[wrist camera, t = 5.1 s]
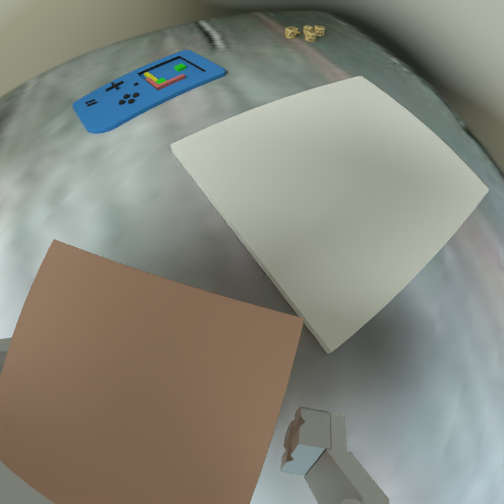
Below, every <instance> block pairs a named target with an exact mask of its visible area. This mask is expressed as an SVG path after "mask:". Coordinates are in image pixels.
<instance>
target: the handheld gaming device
mask: <svg viewBox="0 0 504 504" xmlns="http://www.w3.org/2000/svg"><path fill="white" fill-rule="evenodd" d="M225 74H226V73H225V69H224V68H222V67H220V66H218V65H216V64H215V63H213V62H211V61H209V60H207V59H206V58H204V57H202V56H200V55H198V54H196V53H194V52H192V51H190V50H183V51H180V52H177V53H175V54H172V55H169V56H167V57H164V58H162V59H160V60H157V61H155V62H152V63H150V64H148V65H145V66H143V67H141V68H139V69H136V70H134V71H132V72H130V73H128V74H126V75H124V76H122V77H120V78H118V79H116V80H114V81H112V82H110V83H108V84H106V85H104V86H102V87H100V88H98V89H97V90H95V91H93V92H91V93H89V94H88V95H86V96H84V97H82V98H81V99H79V100H77V101H76V102H74V103H73V108H74V110H75V112H76V113H77V115H78V117H79V118H80V120H81V122H82V123H83V125H84V126H85V128H86V130H87V131H88V132H90V133H95V134H97V133H104V132H108V131H110V130H113V129H115V128H117V127H119V126H120V125H122V124H124V123H126V122H127V121H129V120H131V119H133V118H135V117H136V116H138V115H140V114H142V113H144V112H146V111H148V110H150V109H152V108H154V107H156V106H158V105H160V104H162V103H164V102H166V101H168V100H170V99H172V98H174V97H176V96H178V95H181V94H183V93H185V92H187V91H190V90H192V89H194V88H196V87H199V86H201V85H203V84H206V83H208V82H211V81H213V80H216V79H218V78H221V77H223V76H225Z"/></svg>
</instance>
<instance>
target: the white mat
mask: <svg viewBox="0 0 504 504" xmlns="http://www.w3.org/2000/svg"><path fill="white" fill-rule="evenodd" d="M171 148H172V152H173V153H174V155H175V156H176V157H177V159H178V160H179V161H180V162H181V164H182V165H183V166H184V168H185V169H186V170H187V172H188V173H189V174H190V176H191V177H192V178H193V179H194V181H195V182H196V183H197V185H198V186H199V187H200V189H201V190H202V191H203V192H204V194H205V195H206V196H207V198H208V199H209V200H210V202H211V203H212V204H213V206H214V207H215V208H216V209H217V211H218V212H219V213H220V215H221V216H222V217H223V219H224V220H225V221H226V222H227V224H228V225H229V226H230V228H231V229H232V230H233V232H234V233H235V234H236V236H237V237H238V238H239V239H240V241H241V242H242V243H243V245H244V246H245V247H246V249H247V250H248V251H249V252H250V254H251V255H252V256H253V258H254V259H255V260H256V262H257V263H258V264H259V265H260V267H261V268H262V269H263V271H264V272H265V273H266V275H267V276H268V277H269V278H270V280H271V281H272V282H273V284H274V285H275V286H276V288H277V289H278V290H279V291H280V293H281V294H282V295H283V297H284V298H285V299H286V301H287V302H288V303H289V304H290V306H291V307H292V308H293V310H294V311H295V312H296V314H297V315H298V316H299V317H302V318H305V319H304V324H305V325H306V326H307V328H308V329H309V330H310V332H311V333H312V334H313V336H314V337H315V338H316V339H317V341H318V342H319V343H320V345H321V346H322V347H323V349H324V350H325V351H326V352H327V354H330V353H332V352H333V351H334V350H336V349H337V348H338V347H339V346H340V345H342V344H343V343H344V342H345V341H346V340H348V339H349V338H350V337H351V336H352V335H353V334H355V333H356V332H357V331H358V330H359V329H360V328H361V327H363V326H364V325H365V324H366V323H367V322H368V321H369V320H370V319H372V318H373V317H374V316H375V315H376V314H377V313H378V312H379V311H380V310H381V309H382V308H384V307H385V306H386V305H387V304H388V303H389V302H390V301H391V300H392V299H393V298H394V297H395V296H396V295H397V294H398V293H399V292H400V291H401V290H402V289H403V288H404V287H405V286H406V285H407V284H408V283H409V282H410V281H411V280H412V279H413V278H414V277H415V276H416V275H417V274H418V273H419V272H420V271H421V270H422V269H423V268H424V267H425V266H426V265H427V264H428V263H429V261H430V260H431V259H432V258H433V257H434V256H435V255H436V254H437V253H438V252H439V251H440V249H441V248H442V247H443V246H444V245H445V244H446V243H447V242H448V240H449V239H450V238H451V237H452V236H453V235H454V233H455V232H456V231H457V230H458V229H459V228H460V226H461V225H462V224H463V223H464V222H465V220H466V219H467V218H468V217H469V215H470V214H471V213H472V212H473V210H474V209H475V208H476V207H477V205H478V204H479V203H480V201H481V200H482V199H483V198H484V196H485V195H486V194H487V192H488V191H489V189H488V188H487V187H486V186H485V184H484V183H483V182H482V181H481V180H480V179H479V178H478V177H477V176H476V174H475V173H474V172H473V171H472V170H471V169H470V168H469V167H468V166H467V165H466V164H465V163H464V162H463V161H462V160H461V159H460V158H459V157H458V156H457V155H456V154H455V153H454V152H453V151H452V150H451V149H450V148H449V147H448V146H447V145H446V144H445V143H444V142H443V141H442V140H441V139H440V138H439V137H438V136H437V135H436V134H434V133H433V132H432V131H431V130H430V129H429V128H428V127H427V126H426V125H424V124H423V123H422V122H421V121H420V120H419V119H417V118H416V117H415V116H414V115H413V114H411V113H410V112H409V111H408V110H407V109H405V108H404V107H403V106H402V105H400V104H399V103H398V102H396V101H395V100H394V99H393V98H391V97H390V96H389V95H387V94H386V93H385V92H383V91H382V90H380V89H379V88H378V87H376V86H375V85H374V84H372V83H371V82H369V81H368V80H366V79H365V78H363V77H362V76H358V77H354V78H350V79H346V80H342V81H338V82H334V83H331V84H327V85H324V86H320V87H317V88H313V89H310V90H307V91H304V92H301V93H297V94H294V95H291V96H288V97H285V98H282V99H279V100H276V101H274V102H271V103H268V104H265V105H262V106H260V107H257V108H254V109H252V110H249V111H246V112H244V113H241V114H239V115H236V116H234V117H231V118H229V119H226V120H224V121H221V122H219V123H217V124H214V125H212V126H210V127H207V128H205V129H203V130H201V131H198V132H196V133H194V134H192V135H190V136H187V137H185V138H183V139H181V140H179V141H177V142H175V143H173V144H171Z"/></svg>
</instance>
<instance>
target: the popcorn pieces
mask: <svg viewBox="0 0 504 504" xmlns="http://www.w3.org/2000/svg"><path fill="white" fill-rule="evenodd" d="M312 30H313V27H311V26H307V25H306V26H304V30H303V32H304V35H305V40H306V41H309V42H315V41H316V35H317V36H324V32H325V27H323V26H319V25H316V26H315V28H314V31H312ZM299 34H300V32H299V31H298V28H296V27H286V28H285V37H286V38H290V39H293V38H295V35H299Z"/></svg>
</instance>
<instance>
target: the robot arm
mask: <svg viewBox="0 0 504 504" xmlns="http://www.w3.org/2000/svg"><path fill="white" fill-rule="evenodd" d="M11 339H12V338H6V339H0V377H1V373H2V370H3V366H4V362H5V359H6V355H7V352H8V349H9V346H10V342H11ZM284 447H285V449H286V451H285V452H284V454H283V456H282V462H281V470H280V471H281V472H285V473H291V474H296V475H302V476H305V479H306V481H307V483H308V485H309V487H310V489H311V491H312V493H313V495H314V497H315V499H316V500H317V502H318V504H389V498H388V497H387V496H386V495H385V494H384V492H383V491H382V490H381V489H380V487H379V486H378V485H377V484H376V483H375V481H374V480H373V479H372V478H371V476H370V475H369V474H368V473H367V472H366V470H365V469H364V468H363V467H362V465H361V464H360V463H359V462H358V460H357V459H356V458H355V457H354V455H353V454H352V453H351V452H347V444H346V429H345V417H344V415H343V414H340V413H333V412H327V411H322V410H316V409H311V408H305V407H299V408H298V409H297V411H296V413H295V420H293V421H291V423H290V425H289V427H288V429H287V432H286V436H285V440H284ZM0 504H55V503H53V502H52V501H50V500H49V499H47V498H46V497H44V496H43V495H42V494H40V493H39V492H38V491H36V490H35V489H34V488H32V487H31V486H30V485H28V484H27V483H26V482H24V481H23V480H22V479H21V478H19V477H18V476H17V475H16V474H15V473H13V472H12V471H11V470H10V469H9V468H8V467H6V466H5V465H4V464H3V463H2V462H1V461H0Z"/></svg>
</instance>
